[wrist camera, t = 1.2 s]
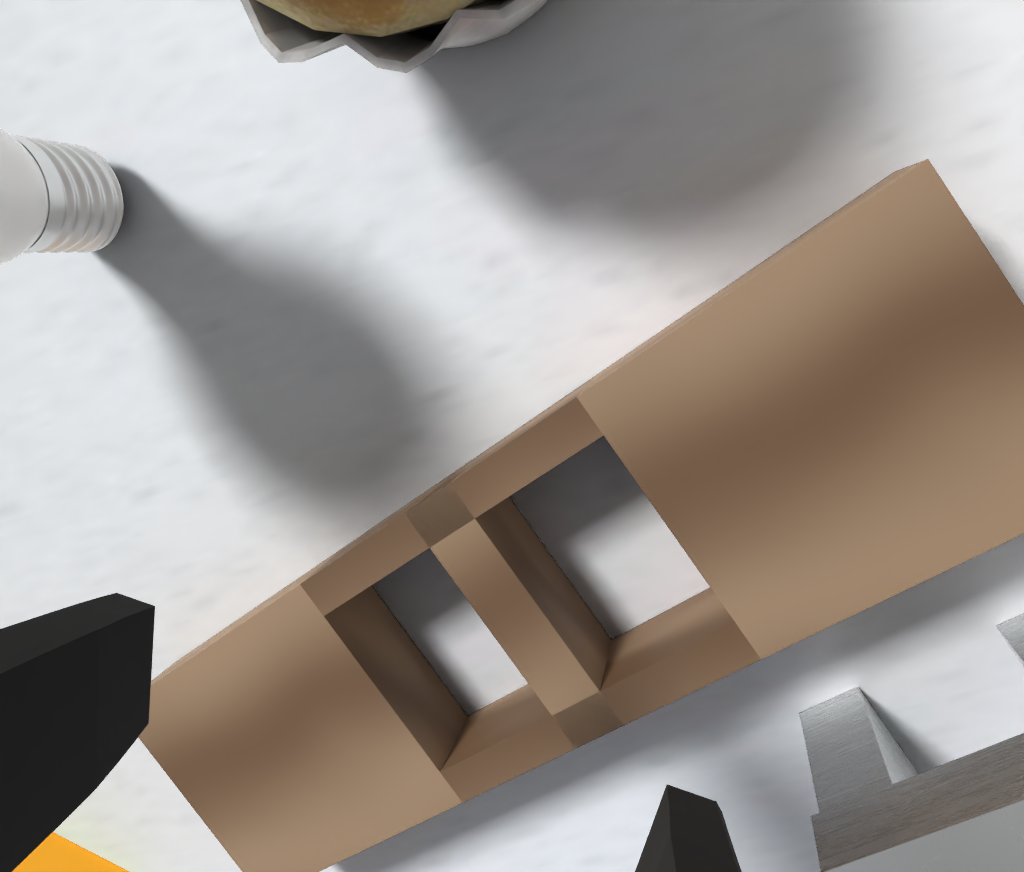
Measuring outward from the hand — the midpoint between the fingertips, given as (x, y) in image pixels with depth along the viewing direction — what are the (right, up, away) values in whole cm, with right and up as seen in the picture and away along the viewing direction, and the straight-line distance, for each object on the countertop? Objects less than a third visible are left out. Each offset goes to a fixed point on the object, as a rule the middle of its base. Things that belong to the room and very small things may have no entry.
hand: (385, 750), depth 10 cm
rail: (+2, 0, +10) cm, 10 cm away
